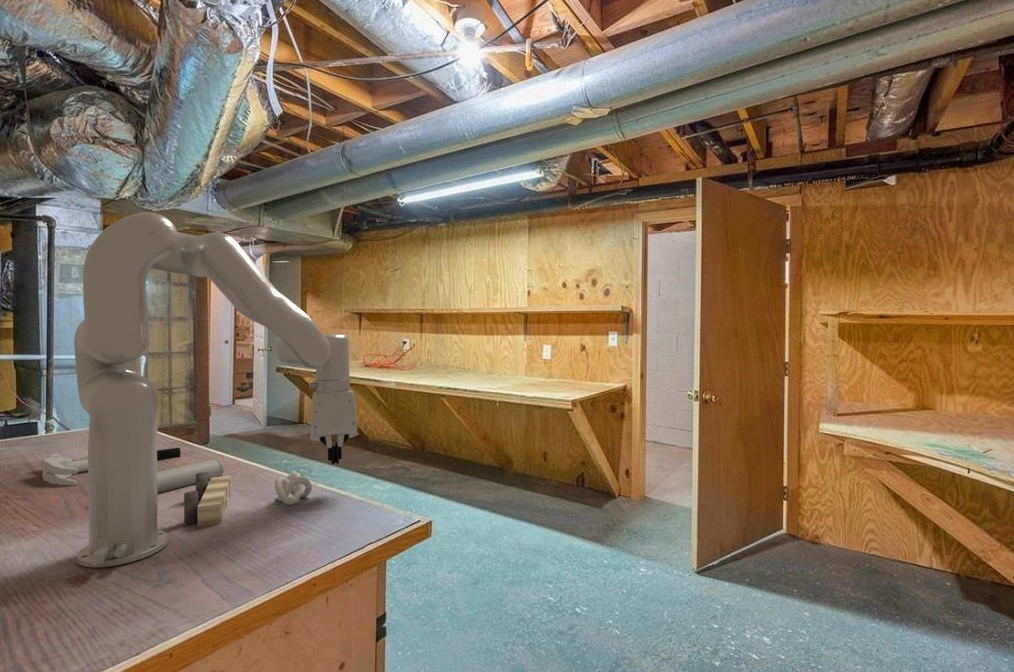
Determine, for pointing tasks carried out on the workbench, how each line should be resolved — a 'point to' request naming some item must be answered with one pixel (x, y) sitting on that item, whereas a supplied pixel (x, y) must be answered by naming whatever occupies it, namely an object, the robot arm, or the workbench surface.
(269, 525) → the workbench surface
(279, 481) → the knot
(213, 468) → the tube
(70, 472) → the claw hammer
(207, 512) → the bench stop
